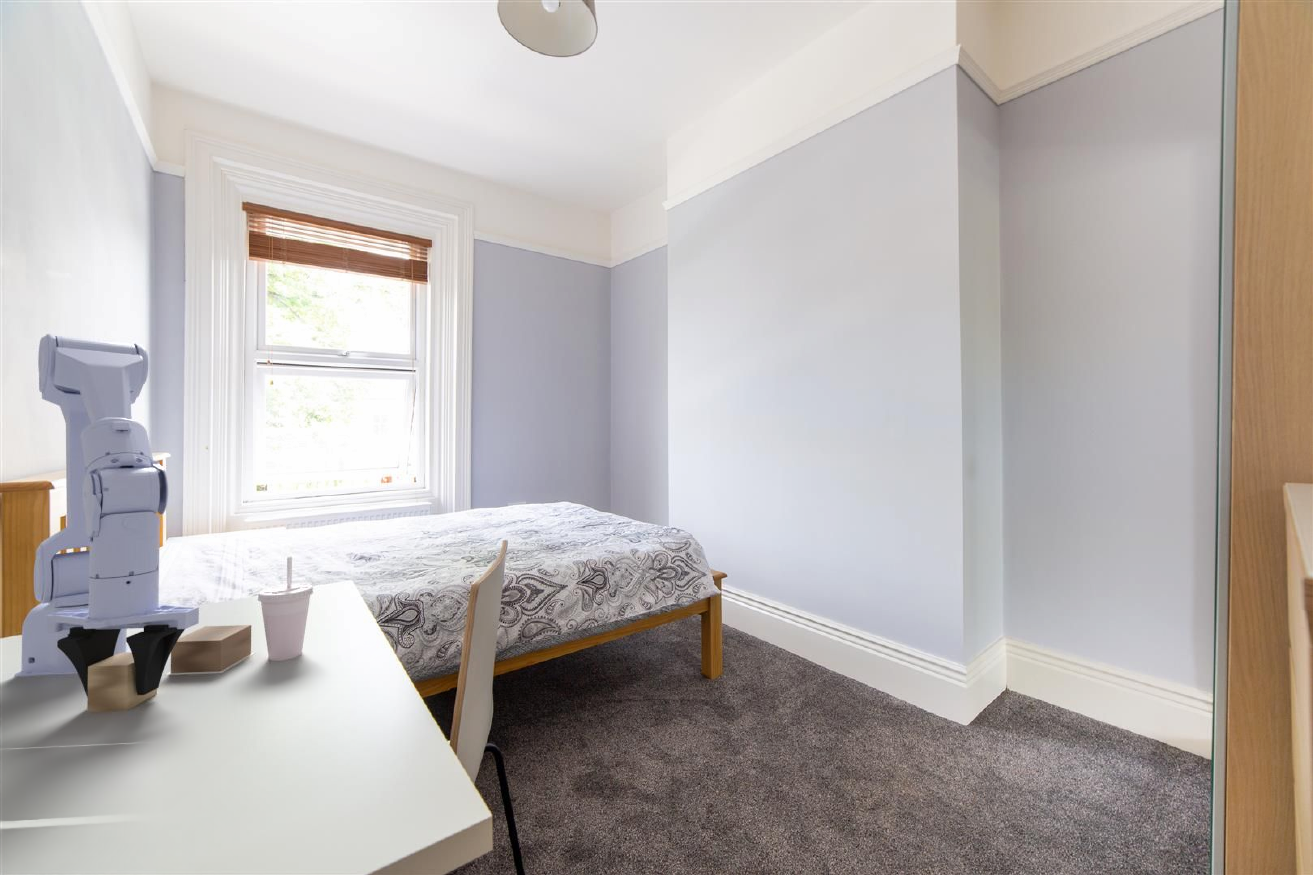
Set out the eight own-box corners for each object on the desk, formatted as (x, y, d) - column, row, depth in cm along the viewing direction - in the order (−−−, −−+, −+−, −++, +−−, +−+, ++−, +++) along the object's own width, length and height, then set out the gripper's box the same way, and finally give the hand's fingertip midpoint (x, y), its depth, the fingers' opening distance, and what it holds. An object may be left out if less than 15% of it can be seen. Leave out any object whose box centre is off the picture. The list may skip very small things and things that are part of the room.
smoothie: (323, 650, 78) (324, 553, 78) (289, 668, 72) (289, 563, 72) (282, 649, 79) (283, 552, 79) (244, 666, 72) (245, 562, 73)
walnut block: (170, 673, 69) (170, 641, 69) (205, 655, 75) (205, 626, 75) (220, 671, 70) (220, 640, 70) (251, 653, 76) (251, 624, 76)
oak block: (87, 712, 59) (88, 666, 59) (120, 695, 63) (120, 652, 63) (126, 710, 60) (127, 665, 60) (156, 694, 64) (157, 651, 64)
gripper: (17, 582, 57) (14, 712, 57) (164, 579, 58) (163, 706, 58) (81, 567, 64) (80, 682, 64) (212, 565, 65) (211, 678, 65)
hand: (123, 692), depth 61 cm, fingers open, 5 cm apart
